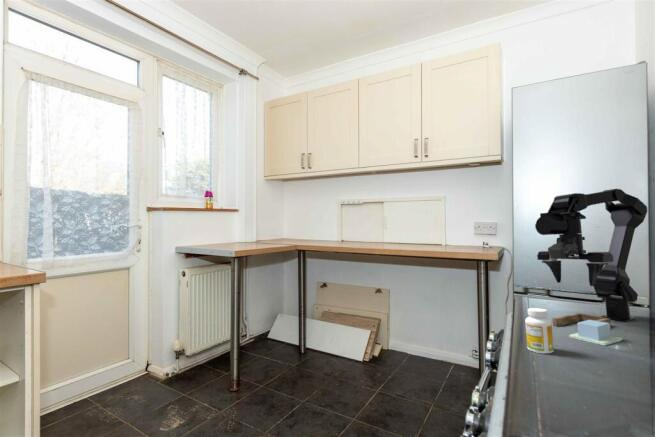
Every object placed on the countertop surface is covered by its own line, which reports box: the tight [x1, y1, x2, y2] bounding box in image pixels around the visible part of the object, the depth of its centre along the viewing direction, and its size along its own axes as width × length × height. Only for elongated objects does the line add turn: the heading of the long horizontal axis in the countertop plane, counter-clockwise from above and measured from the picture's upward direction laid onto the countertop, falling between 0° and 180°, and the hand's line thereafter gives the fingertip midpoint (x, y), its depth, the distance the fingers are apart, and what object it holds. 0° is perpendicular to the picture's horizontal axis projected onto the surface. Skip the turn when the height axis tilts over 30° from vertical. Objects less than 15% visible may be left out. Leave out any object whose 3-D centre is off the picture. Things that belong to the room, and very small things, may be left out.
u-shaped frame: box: [552, 312, 612, 327], centre depth 96 cm, size 13×8×2 cm, turn 114°
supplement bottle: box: [524, 307, 555, 355], centre depth 78 cm, size 5×5×10 cm
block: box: [576, 320, 612, 341], centre depth 85 cm, size 6×4×4 cm
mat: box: [568, 332, 623, 346], centre depth 85 cm, size 8×8×1 cm
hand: (574, 284), depth 100 cm, fingers open, 9 cm apart
